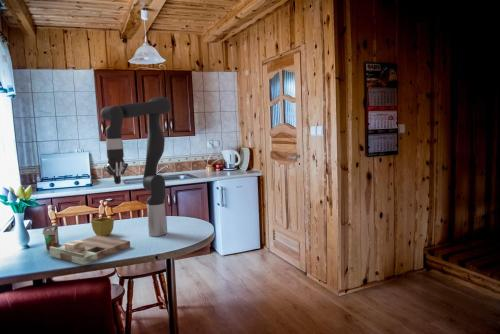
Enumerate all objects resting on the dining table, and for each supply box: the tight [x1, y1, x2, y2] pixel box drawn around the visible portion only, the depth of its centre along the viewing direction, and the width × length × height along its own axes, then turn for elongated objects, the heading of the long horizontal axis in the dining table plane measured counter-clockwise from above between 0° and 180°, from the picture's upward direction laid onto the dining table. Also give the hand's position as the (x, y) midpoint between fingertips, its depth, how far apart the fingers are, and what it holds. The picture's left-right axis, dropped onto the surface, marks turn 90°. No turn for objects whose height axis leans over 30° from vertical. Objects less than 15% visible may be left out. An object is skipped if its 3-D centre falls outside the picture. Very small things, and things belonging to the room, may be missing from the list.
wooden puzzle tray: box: [49, 234, 131, 266], centre depth 177 cm, size 26×25×4 cm
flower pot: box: [90, 216, 115, 237], centre depth 204 cm, size 9×9×9 cm
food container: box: [41, 224, 60, 251], centre depth 185 cm, size 12×6×10 cm, turn 21°
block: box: [64, 239, 85, 252], centre depth 169 cm, size 6×6×4 cm
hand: (117, 183), depth 179 cm, fingers closed
